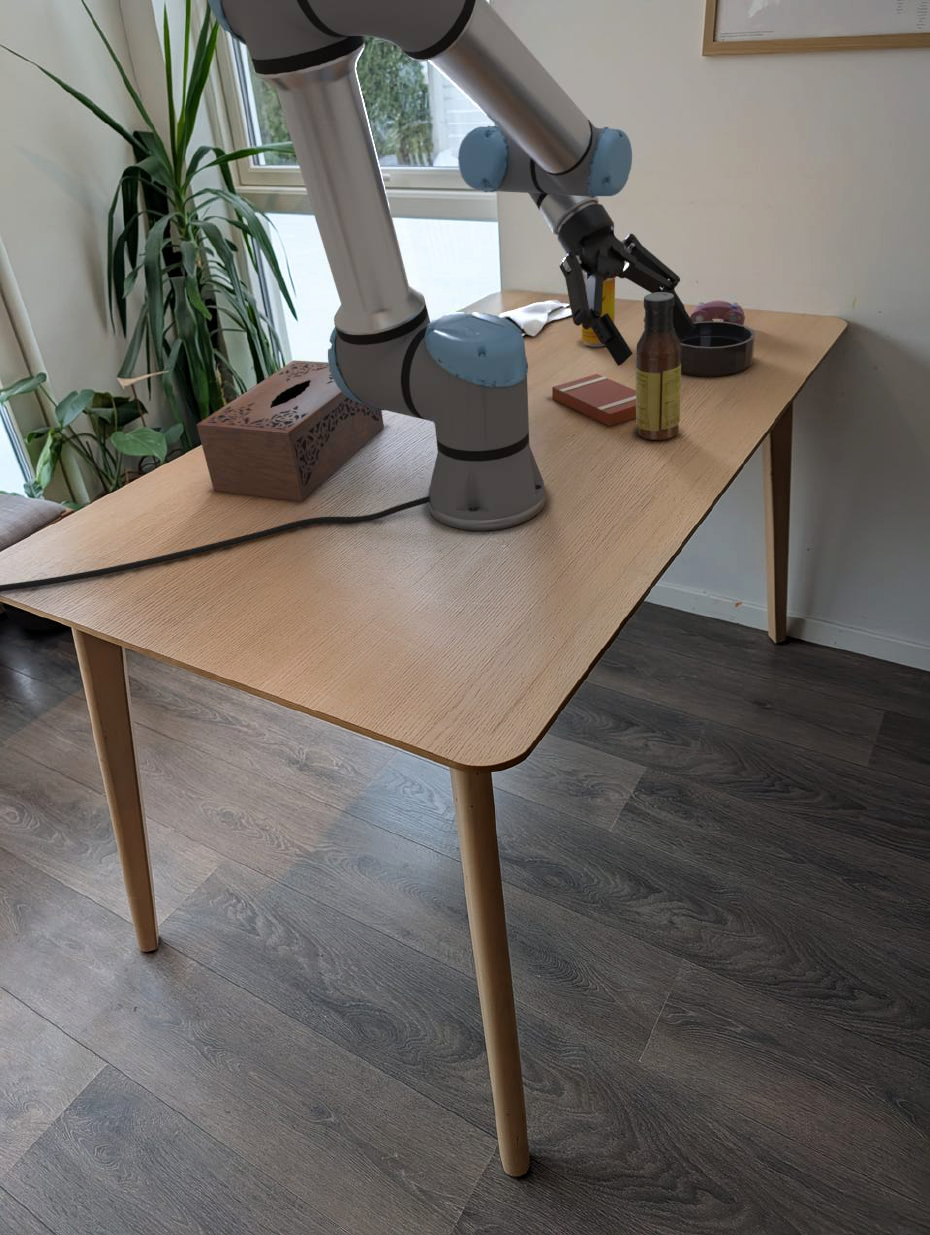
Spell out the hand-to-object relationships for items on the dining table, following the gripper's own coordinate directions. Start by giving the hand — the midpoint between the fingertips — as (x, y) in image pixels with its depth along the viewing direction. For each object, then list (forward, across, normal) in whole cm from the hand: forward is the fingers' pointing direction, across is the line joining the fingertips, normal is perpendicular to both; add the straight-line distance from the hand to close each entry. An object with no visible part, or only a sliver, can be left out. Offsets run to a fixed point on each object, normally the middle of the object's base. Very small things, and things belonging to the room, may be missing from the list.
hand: (658, 346), depth 124 cm
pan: (+1, +28, +17) cm, 33 cm away
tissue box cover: (-15, -40, +33) cm, 54 cm away
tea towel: (0, +3, +18) cm, 19 cm away
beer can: (-15, +26, +34) cm, 45 cm away
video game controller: (-6, +43, +24) cm, 50 cm away
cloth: (-30, +27, +48) cm, 63 cm away
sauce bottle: (+10, 0, +9) cm, 13 cm away
